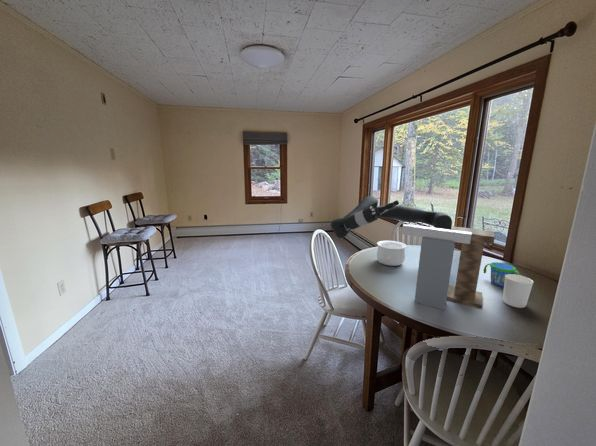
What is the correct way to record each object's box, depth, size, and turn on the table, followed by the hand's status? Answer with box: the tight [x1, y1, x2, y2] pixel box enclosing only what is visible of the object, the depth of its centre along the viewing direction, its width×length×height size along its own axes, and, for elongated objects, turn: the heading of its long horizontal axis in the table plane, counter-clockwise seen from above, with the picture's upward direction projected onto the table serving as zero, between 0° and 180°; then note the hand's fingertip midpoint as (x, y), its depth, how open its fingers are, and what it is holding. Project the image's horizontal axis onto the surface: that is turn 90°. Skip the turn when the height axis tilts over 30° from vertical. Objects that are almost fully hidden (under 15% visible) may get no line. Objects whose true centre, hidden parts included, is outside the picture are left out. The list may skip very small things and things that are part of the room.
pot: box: [376, 239, 407, 267], centre depth 165 cm, size 22×17×12 cm
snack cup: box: [483, 261, 521, 287], centre depth 138 cm, size 16×10×10 cm
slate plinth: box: [414, 237, 456, 311], centre depth 116 cm, size 12×8×30 cm, turn 56°
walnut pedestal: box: [446, 225, 496, 309], centre depth 121 cm, size 16×14×32 cm
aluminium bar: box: [401, 223, 472, 244], centre depth 113 cm, size 26×4×4 cm, turn 56°
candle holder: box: [502, 273, 534, 309], centre depth 118 cm, size 10×10×12 cm
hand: (396, 203), depth 124 cm, fingers open, 8 cm apart
